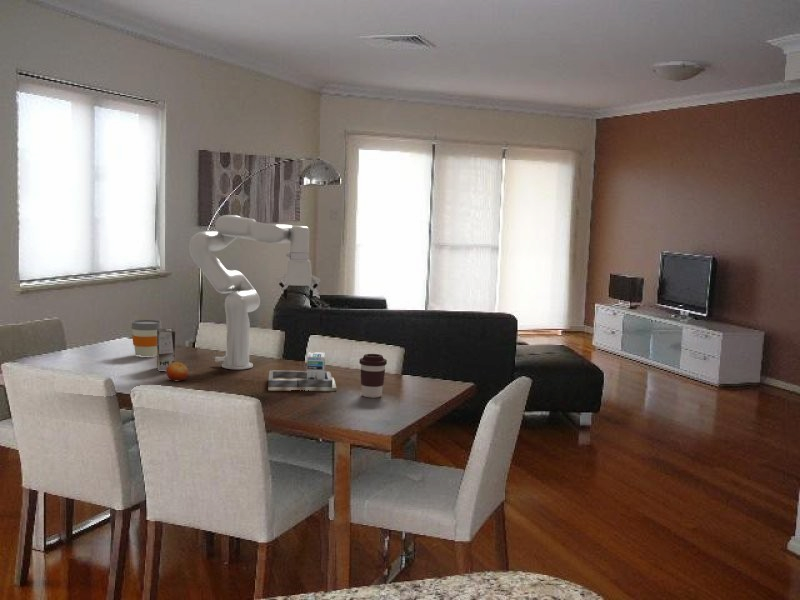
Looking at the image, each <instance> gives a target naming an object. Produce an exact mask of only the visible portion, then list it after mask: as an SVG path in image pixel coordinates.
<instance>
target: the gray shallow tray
mask: <svg viewBox="0 0 800 600" xmlns="http://www.w3.org/2000/svg"><path fill="white" fill-rule="evenodd" d="M267 384H268V385H267V386H268V387H267V390H268V391H291V390H300V391H301V390H303V392H304V390H305V392H307V391H308V390H309V391H311V392H312V391H313V392H314V391H315V392H320V391H321V392H337V385H336V381H335V378H334V377H332V374H331V371H325V380H318V379H307V370H279V369H277V370H275V369H274V370H273V369H271V370H269V373H268V382H267ZM300 391H299V392H300Z"/></svg>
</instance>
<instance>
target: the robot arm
mask: <svg viewBox="0 0 800 600" xmlns="http://www.w3.org/2000/svg"><path fill="white" fill-rule="evenodd" d="M214 225H215V230H204V231H199V232H197V233H195V234H194V235H193V236H192V237H191V238H190V241H189V254H190V256H191V259H192V260H193V262H194V263H195V264H196V266H197V267H198V268H199V269H200V271H201V272H202V273H203V274H204V276H205V277H206V279H207V280H208V281H209V283H210V284H211V286H212V287H213V288H214V289H215V291H216V292H217V293H219V294H228V295H227V296H226V298H225V300H224V310H225V316H226V317H225V318H226V322H225V323H226V332H225V335H226V336H225V337H226V341H225V351H226V352H225V355H223V356H214V361H215V362H218V363H222V364H221V367H222V368H224V369H227V370H228V369H229V370H247V369H249V370H250V369H252V368H253V367H254V364H253V362H250V348H251V347H250V346H251V345H250V342H251V341H250V340H251V338H250V336H251V329H250V327H251V325H250V324H251V323H250V322H251V321H250V317H249V314H248V313H252V312H254V311H256V310H258V308H259V307H260V305H261V297H260V295H259V294H258V292H257V291H256V289H255V288H254V286H253V285H252V283H251V282H250V281H249V280H248V279H247V277H246V276H245V274H243V273H242V272H241V271H239V270H236V269H227V268H226V266H225V265H224V264H223V263H222V261H221V260H220V259H219V258H218V257H217V256H216V255H214V254H213V253H212V252H218V251H221V250H224V249H225V248H227V246H229V245H230V244H232V243H233V242H235V240H236V239H243V240H244V239H245V240H251V241H255V242H261V243H267V244H272V245H273V244H275V245H277V244H289V252H288V253H286V255H285V257H286V258H289V259H287V263H286V269H285V270H286V271H285V272H286V273H285V274H283V275H281V276H278V277H277V278H276V281H277V282H278V285H279V287H281V288H282V289H283V298H284V300H285V301H287V299H288V287H289V286H298V287H299V286H300V287H301V286H302V287H304V286H308V288H309V292H308V296H309V297H308V300H309V301H312V299H313V298H314V291H315V289H317V287H318V286H319V283H321V278H318V277H317V276H315V275H314V274H312V273H313V272H312V262H311V260H310V259H309V258H310V257H309V256H310V228H309V227H308V226H305V225H291V224H272V223H267V222H266V223H265V222H264V223H263V222H260V221H256V219H254V218H249V217H242V216H240V215H237V214H225V215H224V214H223V215H220V216H218V218H217V219H216V220H215V224H214ZM284 279H285V284H284V283H283V282H282V280H284ZM313 280H314V281H315V283H314V284H313V285H312V281H313Z"/></svg>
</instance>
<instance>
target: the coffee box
mask: <svg viewBox="0 0 800 600" xmlns="http://www.w3.org/2000/svg"><path fill="white" fill-rule="evenodd" d="M175 349H176V331H175V330H174V328H169V327H168V328H162V329H157V357H156V369H157V368H158V369H157V371H158V370H167V367H168V366H169V364H171V363H173V362H176V361H175V357H176V355H175V353H176V350H175Z"/></svg>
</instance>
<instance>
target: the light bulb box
mask: <svg viewBox="0 0 800 600" xmlns="http://www.w3.org/2000/svg"><path fill="white" fill-rule="evenodd" d="M306 357H307V359H306V362H307V365H306V366H307V367H306V371H307V379H318V380H325V372H326V352H320V351H319V352H318V351H317V352H315V351H308V353H307V356H306Z"/></svg>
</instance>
